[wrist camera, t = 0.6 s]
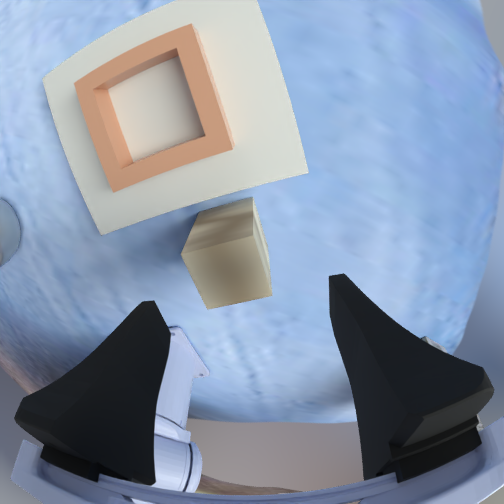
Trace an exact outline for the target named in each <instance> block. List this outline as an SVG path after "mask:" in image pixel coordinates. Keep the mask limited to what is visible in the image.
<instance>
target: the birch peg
mask: <svg viewBox="0 0 504 504" xmlns="http://www.w3.org/2000/svg"><path fill="white" fill-rule="evenodd" d="M181 256H182V258H183V260H184V263H185V265H186V267H187V269H188V271H189V273H190V275H191V277H192V279H193V281H194V284H195V286H196V288H197V290H198V292H199V294H200V296H201V298H202V300H203V302H204V304H205V306H206V308H207V309H212V308H217V307H222V306H227V305H232V304H237V303H242V302H246V301H251V300H255V299H260V298H265V297H269V296H272V287H271V276H270V265H269V255H268V245H267V242H266V238H265V235H264V232H263V228H262V225H261V222H260V218H259V215H258V212H257V208H256V205H255V202H254V198H253V197H250V198H247V199H243V200H239V201H236V202H232V203H229V204H225V205H221V206H218V207H215V208H211V209H208V210H204V211H201V212H199V214H198V216H197V218H196V220H195V223H194V225H193V227H192V229H191V232H190V234H189V236H188V239H187V241H186V243H185V245H184V248H183V250H182V252H181Z"/></svg>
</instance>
